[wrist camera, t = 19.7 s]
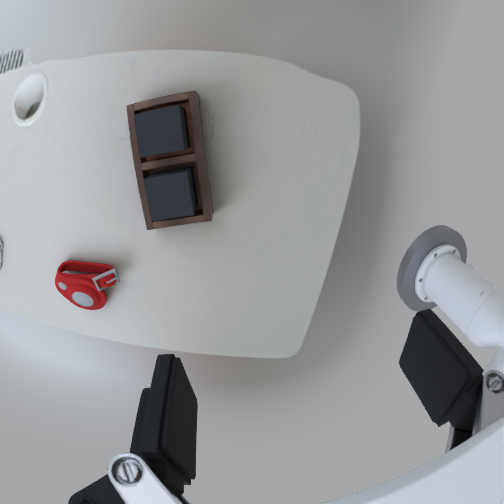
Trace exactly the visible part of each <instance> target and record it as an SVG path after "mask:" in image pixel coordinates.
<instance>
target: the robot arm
mask: <svg viewBox="0 0 504 504" xmlns="http://www.w3.org/2000/svg"><path fill="white" fill-rule="evenodd" d="M415 292H416V294H417V296H418V297H419V298H420V299H421V300H422V301H424V302H433V301H434V302H435V303H436V304H437V305H438V306H439V307H440V308H441V309H442V310H443V311H444V312H445V314H446V315H447V316H448V317H449V318H450V319H451V320H452V321H453V322H454V323H455V324H456V325H457V326H458V327H459V328H460V329H461V331H462V332H463V333H464V334H465V335H466V336H467V337H468V338H469V339H470V340H471V342H472V343H473V344H475V345H476V346H478V347H481V348H493V347H498V348H499V349H498V352H497V353H496V355H495V356H494V358H493V359H492V361H491V362H490V363H489V365H488V366H487V367H486V368H485V370H483V369H482V368H481V366H480V365H479V364H478V363H477V361H476V360H475V359H474V358H473V357H472V355H471V354H470V353H469V352H468V351H467V349H466V348H465V347H464V346H463V345H462V343H461V342H460V341H459V340H458V339H457V338H456V336H455V335H454V334H453V333H452V332H451V331H450V330H449V329H448V328H447V326H446V325H445V324H444V323H443V322H442V321H441V320H440V319H439V318H438V316H437V315H436V314H435V313H434V312H433V311H432V310H431V309H426V310H423V311H419V312H417V313H416V316H415V317H414V318H413V321H412V324H411V328H410V331H409V334H408V337H407V340H406V343H405V346H404V349H403V352H402V354H401V357H400V361H399V364H400V367H401V369H402V371H403V372H404V374H405V375H406V377H407V379H408V380H409V382H410V384H411V385H412V387H413V388H414V390H415V392H416V393H417V395H418V397H419V398H420V400H421V402H422V404H423V406H424V407H425V409H426V410H427V412H428V414H429V416H430V418H431V420H432V421H433V422H435V423H436V424H437V425H438V427H439V426H441V425H443V424H445V423H447V422H448V421H450V423H451V427H450V432H449V437H448V442H447V446H446V450H445V454H443V455H442V456H440V457H438V458H436V459H434V460H433V461H431V462H429V463H427V464H425V465H423V466H421V467H419V468H417V469H415V470H413V471H411V472H409V473H407V474H405V475H402V476H400V477H398V478H396V479H393V480H391V481H388V482H386V483H384V484H381V485H378V486H376V487H373V488H370V489H367V490H365V491H362V492H359V493H356V494H352V495H349V496H346V497H343V498H339V499H336V500H332V501H328V502H324V503H320V504H504V294H502V293H501V292H500V291H499V290H498V289H496V288H495V287H494V286H493V285H492V284H490V283H489V282H488V281H487V280H485V279H484V278H483V277H481V276H480V275H479V274H477V273H476V272H475V271H474V270H473V265H472V264H469V265H466V264H465V263H463V262H462V261H461V257H460V253H459V251H458V250H457V248H455V247H454V246H452V245H450V244H443V245H440V246H438V247H436V248H435V249H433V250H432V251H431V252H430V253H429V254H428V255H427V256H426V257H425V259H424V260H423V262H422V263H421V265H420V267H419V269H418V272H417V274H416V278H415ZM197 407H198V406H197V399H196V396H195V394H194V392H193V389H192V387H191V385H190V382H189V380H188V377H187V375H186V372H185V370H184V367H183V365H182V362H181V360H180V358H176V357H175V355H174V354H163V355H158V357H157V360H156V365H155V369H154V373H153V378H152V383H151V388H145V389H143V391H142V394H141V398H140V402H139V407H138V412H137V417H136V422H135V427H134V432H133V437H132V443H131V448H130V453H121V454H119V455H116V456H115V457H114V458H112V460H111V461H110V462H109V465H108V468H107V469H108V474H107V475H105V476H104V477H102V478H101V479H99V480H97V481H96V482H94V483H92V484H91V485H89V486H87V487H86V488H84V489H82V490H80V491H79V492H77V493H75V494H74V495H72V496H71V498H70V500H69V503H68V504H191V503H190V502H189V501H188V500H187V499H186V498H185V497H184V496H183V493H184V485H191V479H195V476H196V432H197Z"/></svg>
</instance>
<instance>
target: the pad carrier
mask: <svg viewBox="0 0 504 504" xmlns="http://www.w3.org/2000/svg"><path fill="white" fill-rule="evenodd" d="M175 105H180V106H182V107H183V108H185V109H186V114H187V123H188V131H189V139H190V148H187V149H185V150H179V151H174V152H168V153H163V154H158V155H153V156H148V157H143V158H140V151H139V144H138V137H137V129H136V121H135V114H139V113H143V112H147V111H152V110H156V109H161V108H165V107H170V106H175ZM127 114H128V123H129V131H130V139H131V146H132V153H133V159H134V165H135V171H136V177H137V183H138V188H139V193H140V198H141V203H142V208H143V213H144V218H145V222H146V226H147V230H151V229H157V228H163V227H170V226H177V225H184V224H191V223H198V222H204V221H205V222H206V221H212V218H213V209H212V202H211V195H210V188H209V180H208V173H207V165H206V157H205V150H204V141H203V133H202V124H201V116H200V106H199V97H198V94H197V92H196V91H191V92H185V93H179V94H174V95H169V96H164V97H160V98H155V99H151V100H147V101H142V102H139V103H135V104H131V105H127ZM191 166H192V167H193V173H194V180H195V187H196V194H197V200H198V205H197V208H196V211H195V213H194V215H191V216H185V217H178V218H171V219H165V220H158V221H152V218H151V214H150V209H149V204H148V199H147V194H146V188H145V183H144V179H145V178H147V177H149V176H150V175H152V174H154V173H157V172H162V171H168V170H173V169H179V168H185V167H191Z"/></svg>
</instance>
